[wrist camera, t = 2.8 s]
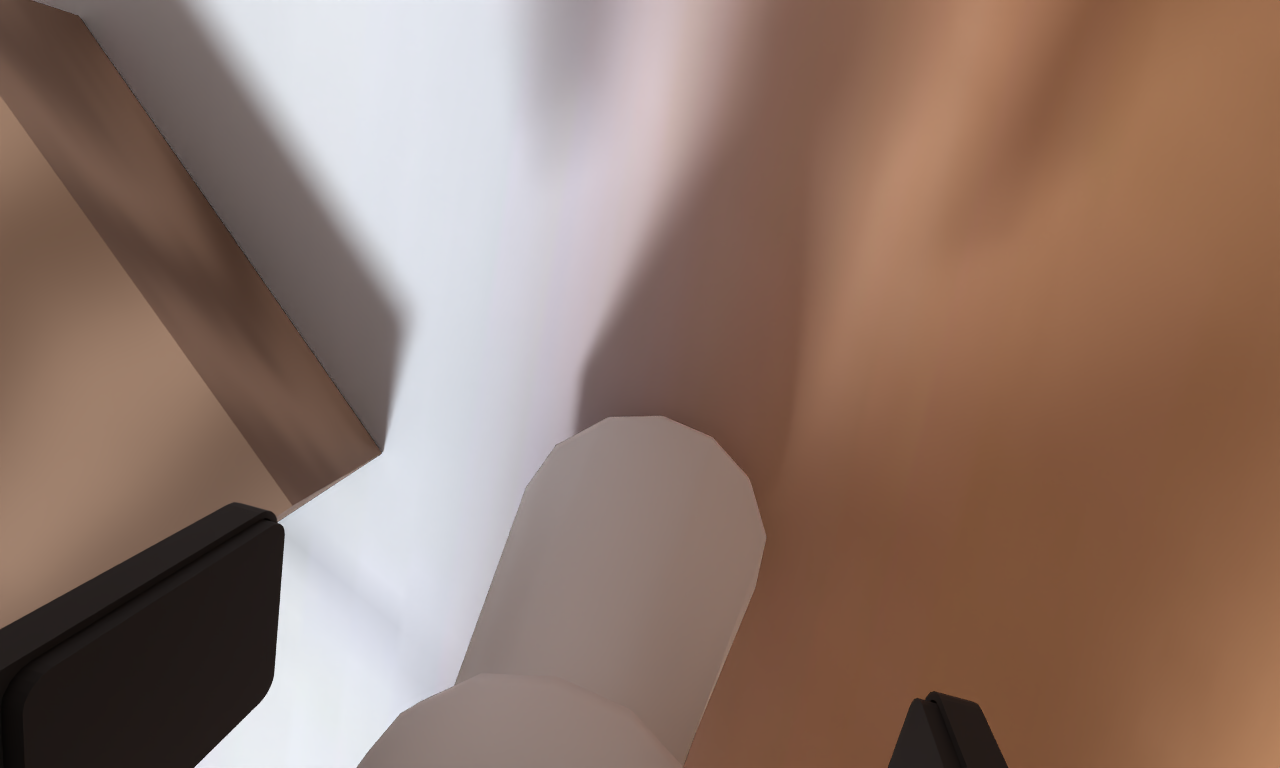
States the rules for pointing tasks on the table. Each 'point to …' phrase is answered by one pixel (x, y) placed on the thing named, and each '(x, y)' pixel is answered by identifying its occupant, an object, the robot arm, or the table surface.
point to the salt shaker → (600, 610)
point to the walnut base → (130, 334)
